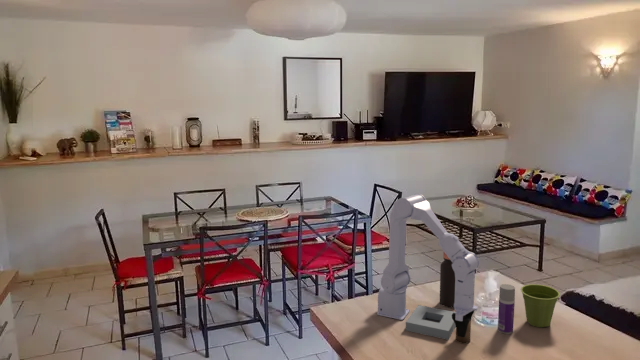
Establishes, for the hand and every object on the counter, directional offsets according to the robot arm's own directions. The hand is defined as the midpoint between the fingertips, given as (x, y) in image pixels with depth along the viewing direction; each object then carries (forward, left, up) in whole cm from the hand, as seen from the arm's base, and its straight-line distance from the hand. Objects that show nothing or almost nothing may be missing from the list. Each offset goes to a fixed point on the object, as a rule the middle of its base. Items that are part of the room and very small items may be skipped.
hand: (463, 332), depth 150 cm
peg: (0, 0, -2) cm, 2 cm away
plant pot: (+20, +22, -3) cm, 30 cm away
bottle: (-10, +24, -3) cm, 26 cm away
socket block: (-11, +5, -2) cm, 12 cm away
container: (+11, +12, -3) cm, 16 cm away
